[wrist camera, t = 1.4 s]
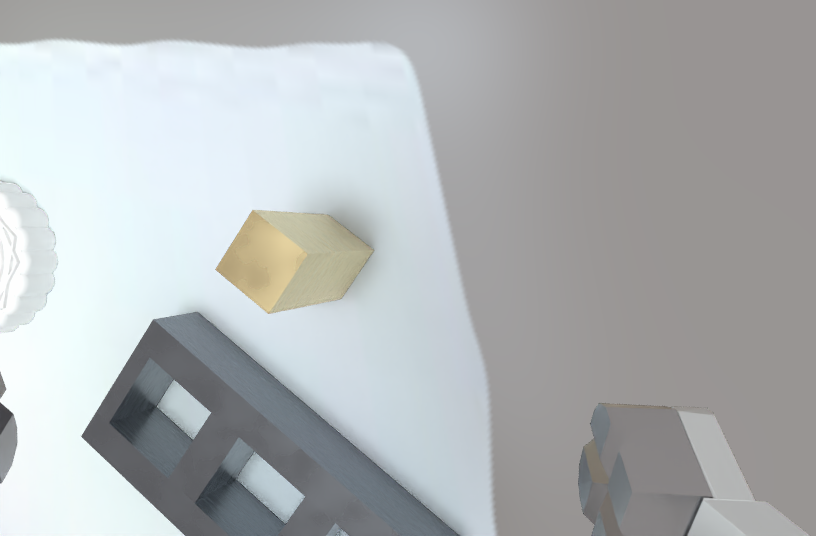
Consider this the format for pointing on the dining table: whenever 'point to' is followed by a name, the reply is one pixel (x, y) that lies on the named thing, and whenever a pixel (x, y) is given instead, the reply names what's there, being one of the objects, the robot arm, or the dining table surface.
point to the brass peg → (293, 259)
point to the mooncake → (23, 257)
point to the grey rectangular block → (240, 446)
